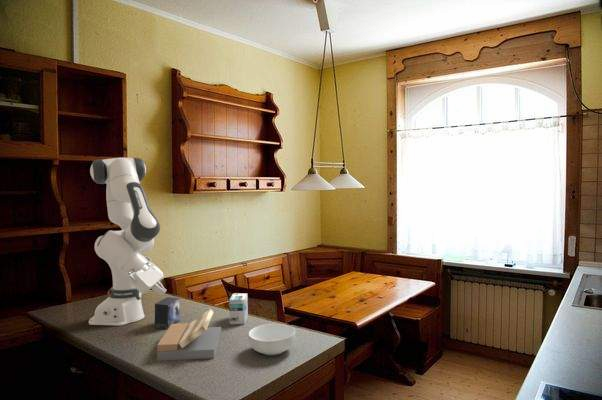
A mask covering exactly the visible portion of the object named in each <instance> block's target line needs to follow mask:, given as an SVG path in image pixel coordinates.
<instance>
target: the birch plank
mask: <svg viewBox="0 0 602 400" xmlns="http://www.w3.org/2000/svg"><path fill="white" fill-rule="evenodd" d="M213 315H214V310H213V309H212V308H209V309H208V310H207V311H205V312H203V313H202V314H201V315H200V316H198V317H197V318H195V319H194V320H192V321H191V322H190V323H189V326H188V327H187V329H186V331H185V333H184V335H183V337H182V338H181V340H180V342H179V345H180V346H181V347H182V348H183V347H184V346H186V345H187V344H188V343H190V342H191V341H193V340H194V339H195V338H197V337H198V336H199V335H201V334H202V333H204V332H205V331H206V330H207V327H209V324H210V322H211V320H212V317H213Z"/></svg>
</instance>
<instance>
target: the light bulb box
mask: <svg viewBox="0 0 602 400" xmlns="http://www.w3.org/2000/svg"><path fill="white" fill-rule="evenodd" d="M248 295H249V294H248V293H244V292H243V293H239V292H238V293H237V292H235V293H232V295H231V297H230V298H229V302H228V303H229V304H228V305H229V325H245V324H246V322H247V320H248V318H249V313H248V312H249V310H248V309H249V307H248V305H249V303H248V302H249V301H248V299H249V297H248Z"/></svg>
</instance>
